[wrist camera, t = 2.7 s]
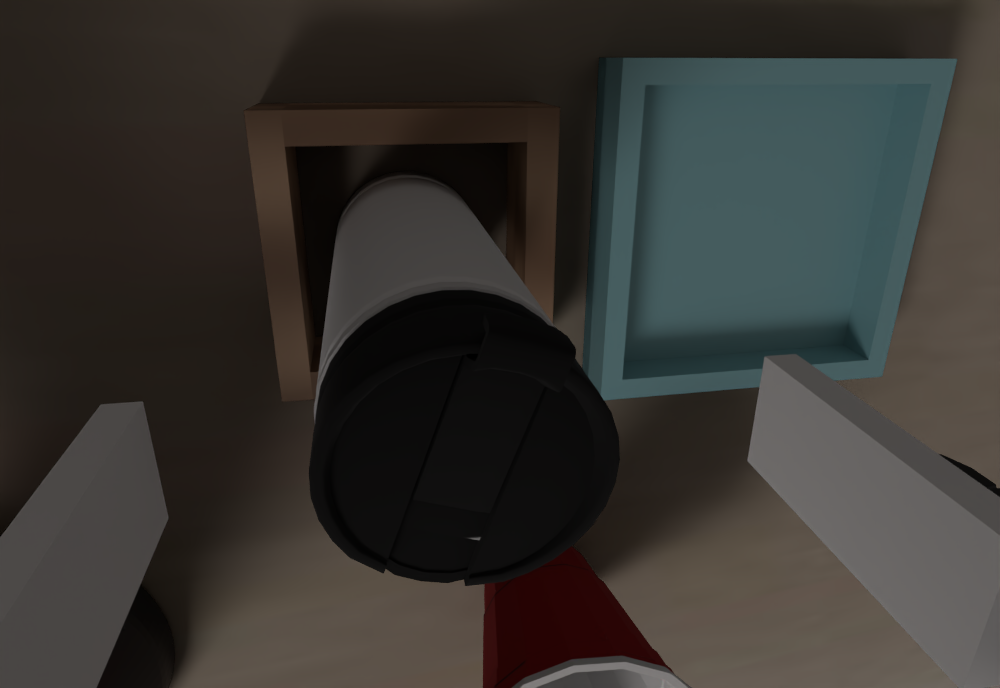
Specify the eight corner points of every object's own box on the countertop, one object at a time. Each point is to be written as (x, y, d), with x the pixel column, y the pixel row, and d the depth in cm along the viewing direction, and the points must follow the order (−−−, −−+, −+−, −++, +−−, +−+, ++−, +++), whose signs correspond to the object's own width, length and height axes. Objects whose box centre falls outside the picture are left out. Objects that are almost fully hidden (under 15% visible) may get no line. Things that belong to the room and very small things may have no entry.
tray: (844, 353, 38) (882, 376, 35) (582, 374, 36) (600, 400, 33) (907, 58, 32) (957, 58, 30) (599, 57, 30) (623, 57, 27)
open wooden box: (530, 346, 34) (550, 380, 31) (290, 363, 32) (282, 402, 29) (535, 101, 30) (560, 107, 26) (258, 103, 28) (243, 110, 24)
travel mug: (497, 188, 31) (690, 373, 13) (451, 321, 33) (563, 642, 15) (359, 142, 29) (361, 283, 11) (320, 285, 31) (267, 603, 13)
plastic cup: (456, 486, 37) (497, 668, 26) (641, 501, 39) (749, 672, 29) (420, 644, 40) (442, 861, 30) (592, 648, 43) (671, 848, 32)
